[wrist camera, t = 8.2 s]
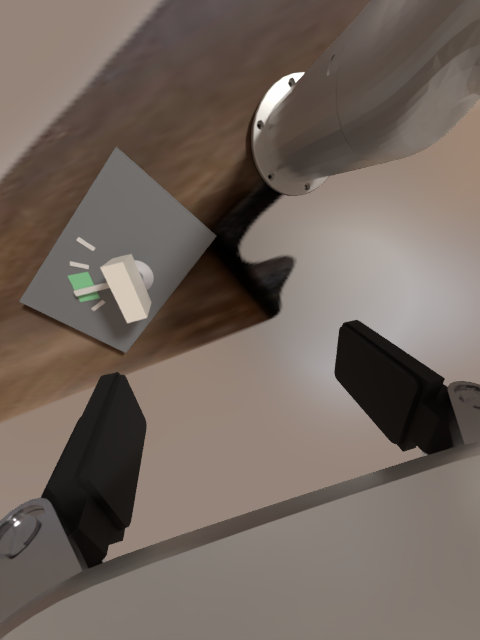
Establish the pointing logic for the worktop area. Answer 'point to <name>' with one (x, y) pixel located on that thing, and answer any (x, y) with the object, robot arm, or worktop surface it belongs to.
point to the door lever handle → (124, 287)
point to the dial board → (117, 252)
